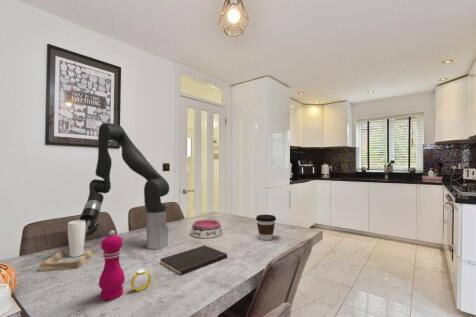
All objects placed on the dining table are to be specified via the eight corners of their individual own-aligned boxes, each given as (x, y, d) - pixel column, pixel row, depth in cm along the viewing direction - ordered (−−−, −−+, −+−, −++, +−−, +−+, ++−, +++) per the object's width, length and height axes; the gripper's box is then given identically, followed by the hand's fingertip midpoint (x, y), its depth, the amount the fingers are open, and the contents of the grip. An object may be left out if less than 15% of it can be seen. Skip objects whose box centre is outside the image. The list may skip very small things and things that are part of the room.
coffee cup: (253, 240, 128) (253, 217, 129) (259, 235, 138) (259, 213, 139) (273, 243, 124) (273, 219, 124) (278, 237, 134) (278, 215, 135)
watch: (133, 294, 77) (132, 275, 77) (130, 291, 79) (129, 273, 79) (152, 286, 81) (151, 269, 81) (149, 283, 83) (148, 266, 83)
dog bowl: (228, 232, 145) (228, 220, 145) (208, 241, 129) (208, 228, 129) (204, 228, 155) (204, 217, 155) (183, 236, 139) (183, 223, 139)
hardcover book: (159, 264, 100) (159, 258, 100) (204, 250, 117) (204, 245, 117) (181, 277, 89) (181, 270, 89) (227, 259, 105) (227, 253, 105)
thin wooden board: (62, 255, 110) (62, 250, 110) (94, 253, 112) (94, 247, 113) (39, 271, 94) (39, 265, 94) (78, 268, 96) (78, 262, 96)
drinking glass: (75, 258, 106) (75, 224, 106) (63, 257, 108) (63, 223, 108) (89, 253, 112) (89, 220, 113) (77, 251, 114) (77, 219, 115)
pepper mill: (105, 289, 80) (105, 227, 80) (128, 288, 80) (128, 227, 81) (94, 302, 72) (94, 234, 73) (119, 300, 73) (119, 233, 73)
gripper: (74, 207, 122) (61, 240, 110) (103, 206, 124) (93, 238, 112) (79, 215, 127) (67, 247, 115) (107, 214, 129) (97, 246, 117)
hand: (80, 243), depth 113 cm, fingers closed
